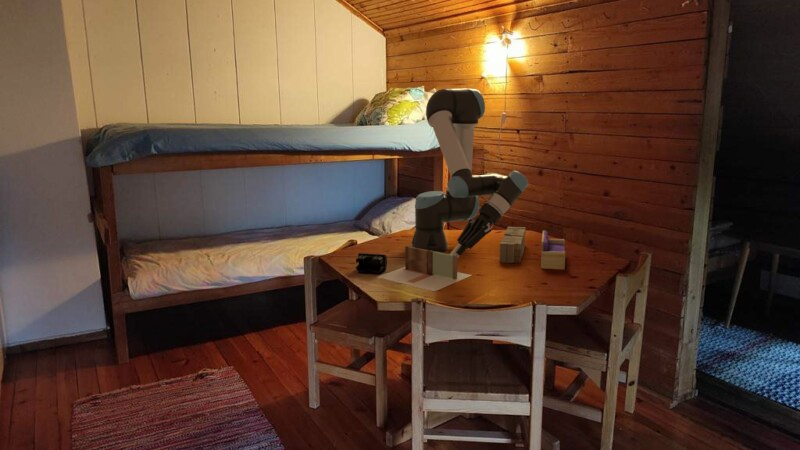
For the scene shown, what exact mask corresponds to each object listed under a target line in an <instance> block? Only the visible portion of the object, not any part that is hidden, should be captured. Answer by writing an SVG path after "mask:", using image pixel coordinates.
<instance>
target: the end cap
mask: <svg viewBox="0 0 800 450" xmlns="http://www.w3.org/2000/svg"><path fill="white" fill-rule="evenodd" d="M357 256H358V257H357V258H355V263H356V264H357V265H356V266H355V269H356V271H357V272H356V274H359V275H361V274H363V275H374V276H375V275H376V276H380V275H383V273H385V272H386V270H387V266H388V257H387V255H386V254H382V253H365V252H364V253H363V252H358V255H357Z"/></svg>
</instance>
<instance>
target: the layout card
mask: <svg viewBox="0 0 800 450" xmlns="http://www.w3.org/2000/svg"><path fill="white" fill-rule="evenodd" d="M471 276H472V274H467V273H465V272H459V271H457V279H452V278H447V277H443V276H439V275H434V274H433V275H428V274H425V273H421V272H417V271H412V270H406V269H405V266H404V267H400V268H398V269H395V270H392V271H390V272H387V273H384V274H383V273H382V274H381V275H377V278H379V279H383V280H387V281H391V282H395V283H398V284H403V285H406V286H407V285H408V286H411V287H415V288H420V289H423V290H427V291H431V292H436V291H439V290H441V289H443V288H445V287H448V286H450V285H452V284H455V283H457V282H460V281H462V280H464V279H467V278H469V277H471Z"/></svg>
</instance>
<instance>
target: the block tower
mask: <svg viewBox="0 0 800 450" xmlns="http://www.w3.org/2000/svg"><path fill="white" fill-rule="evenodd" d="M506 227H507V228H506V230H505V233H504V234H503V236H502V239H501V241H500V243H499V263H510V264H514V263H521V262H522V258H523V255H524V250H525V247H526V246H525V244H526V243H525V242H526V241H525V240H526V232H527V231H526V229H527V227H525V226H522V227H521V226H506Z"/></svg>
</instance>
